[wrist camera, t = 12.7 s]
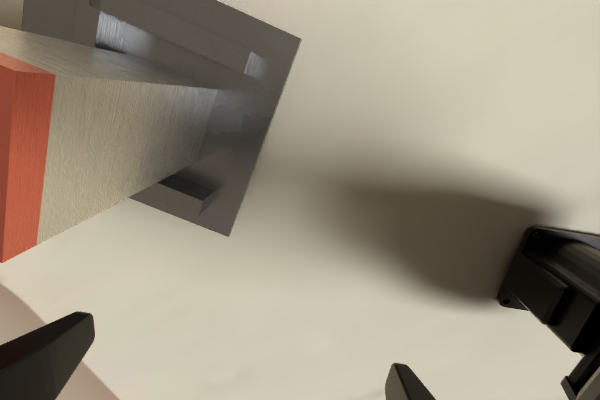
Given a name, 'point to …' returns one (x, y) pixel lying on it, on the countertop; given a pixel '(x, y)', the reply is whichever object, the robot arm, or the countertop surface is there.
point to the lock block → (86, 132)
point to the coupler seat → (197, 65)
